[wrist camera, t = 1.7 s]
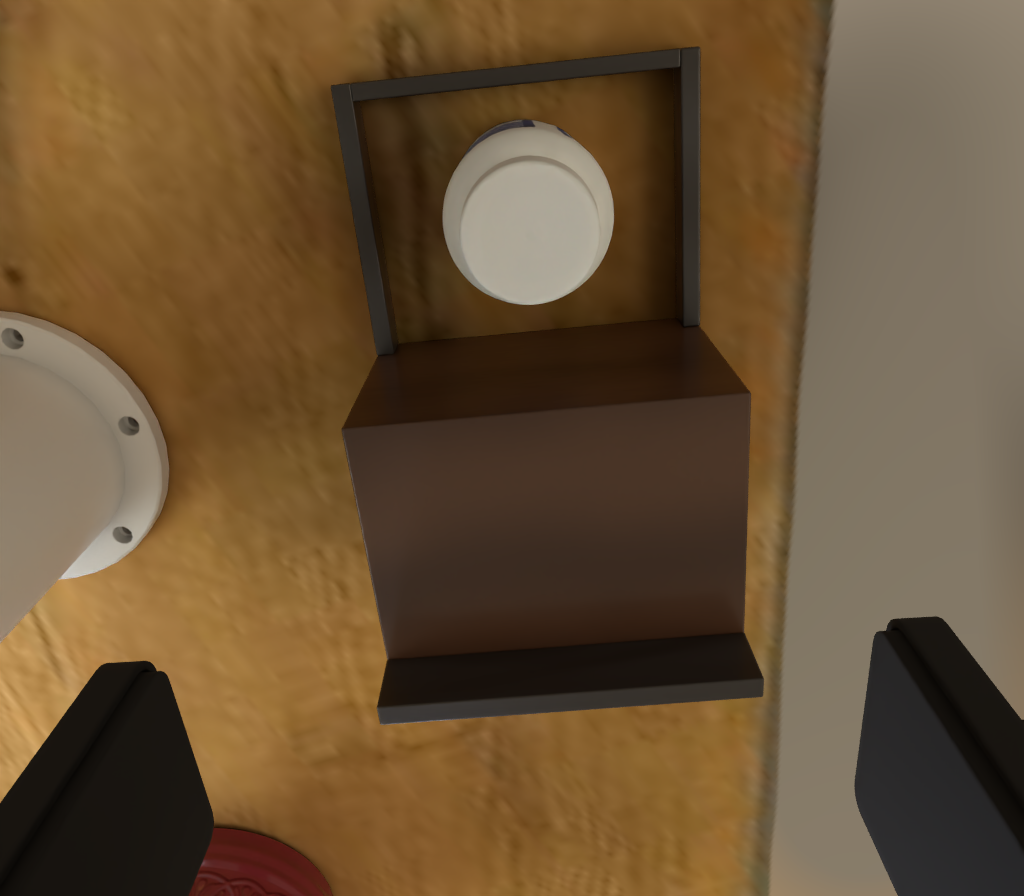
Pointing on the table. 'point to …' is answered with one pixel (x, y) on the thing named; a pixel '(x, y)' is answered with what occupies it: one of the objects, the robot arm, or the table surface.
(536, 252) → the pill bottle
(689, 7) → the table surface
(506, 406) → the step rack
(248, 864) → the kitchen canister
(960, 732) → the robot arm
